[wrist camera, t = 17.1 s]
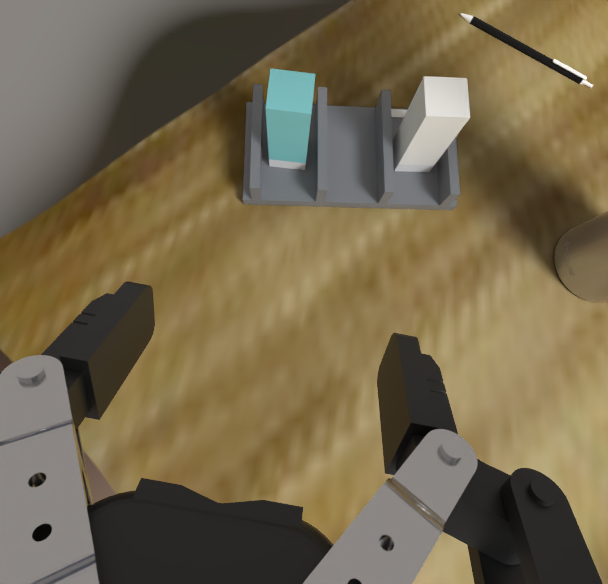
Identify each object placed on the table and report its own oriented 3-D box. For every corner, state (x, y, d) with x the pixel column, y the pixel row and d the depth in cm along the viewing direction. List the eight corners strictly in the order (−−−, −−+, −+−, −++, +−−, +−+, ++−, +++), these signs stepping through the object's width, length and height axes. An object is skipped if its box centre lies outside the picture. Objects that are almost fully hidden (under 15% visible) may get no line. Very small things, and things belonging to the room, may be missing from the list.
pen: (587, 91, 50) (594, 85, 49) (456, 19, 51) (460, 11, 50) (590, 86, 50) (597, 80, 49) (459, 14, 51) (463, 6, 50)
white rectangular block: (427, 140, 45) (466, 78, 36) (428, 172, 45) (470, 117, 35) (393, 139, 45) (423, 76, 35) (394, 171, 44) (426, 116, 35)
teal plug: (308, 138, 45) (315, 74, 35) (304, 170, 44) (311, 113, 34) (273, 134, 45) (270, 68, 35) (269, 166, 44) (265, 108, 34)
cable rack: (446, 116, 47) (461, 93, 43) (452, 210, 45) (469, 194, 41) (247, 108, 46) (243, 83, 42) (243, 204, 44) (239, 187, 40)
